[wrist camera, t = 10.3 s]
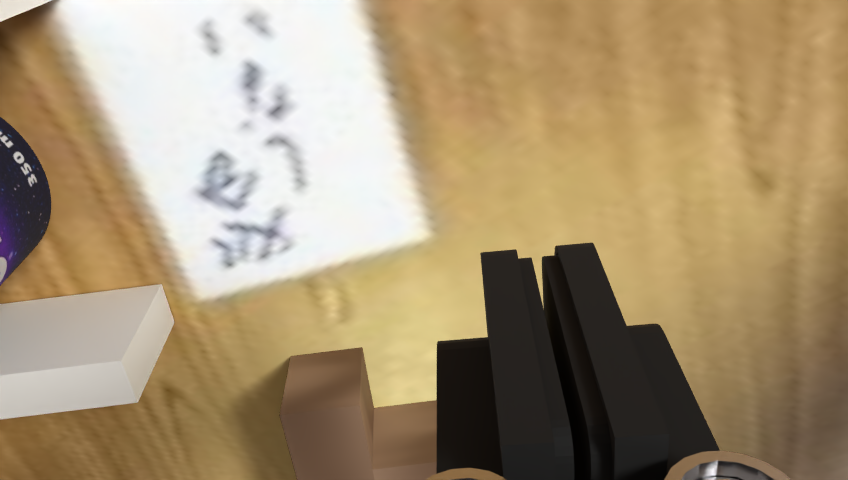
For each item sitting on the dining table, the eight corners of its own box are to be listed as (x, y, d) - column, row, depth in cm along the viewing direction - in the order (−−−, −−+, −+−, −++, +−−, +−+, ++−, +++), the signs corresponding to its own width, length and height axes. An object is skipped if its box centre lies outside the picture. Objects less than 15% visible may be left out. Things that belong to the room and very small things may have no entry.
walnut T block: (519, 327, 25) (536, 383, 22) (529, 491, 28) (544, 556, 26) (290, 355, 25) (279, 414, 22) (331, 515, 28) (325, 582, 26)
